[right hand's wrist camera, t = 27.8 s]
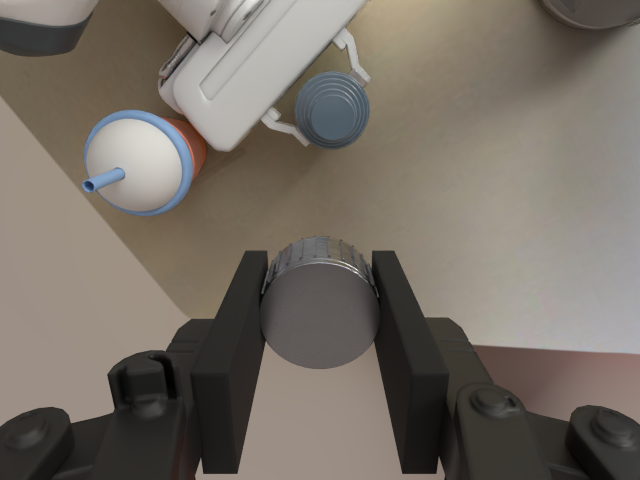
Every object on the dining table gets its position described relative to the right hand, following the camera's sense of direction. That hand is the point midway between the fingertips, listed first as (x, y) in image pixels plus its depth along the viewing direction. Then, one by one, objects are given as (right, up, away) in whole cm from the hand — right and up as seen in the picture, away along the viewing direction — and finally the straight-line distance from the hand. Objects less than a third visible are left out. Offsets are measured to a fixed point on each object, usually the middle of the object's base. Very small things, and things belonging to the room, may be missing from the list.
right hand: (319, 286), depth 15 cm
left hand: (+2, +13, +22) cm, 26 cm away
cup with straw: (-15, +12, +30) cm, 36 cm away
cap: (0, -1, -2) cm, 2 cm away
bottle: (+1, +16, +28) cm, 32 cm away
